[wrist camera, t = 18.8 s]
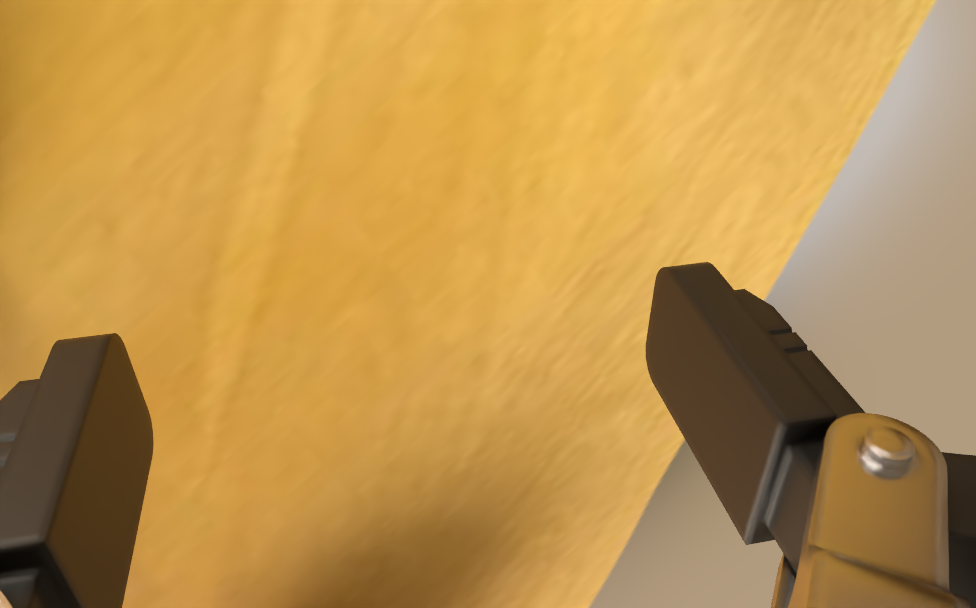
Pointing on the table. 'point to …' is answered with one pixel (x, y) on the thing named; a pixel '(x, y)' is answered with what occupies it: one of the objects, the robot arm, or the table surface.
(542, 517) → the table surface
